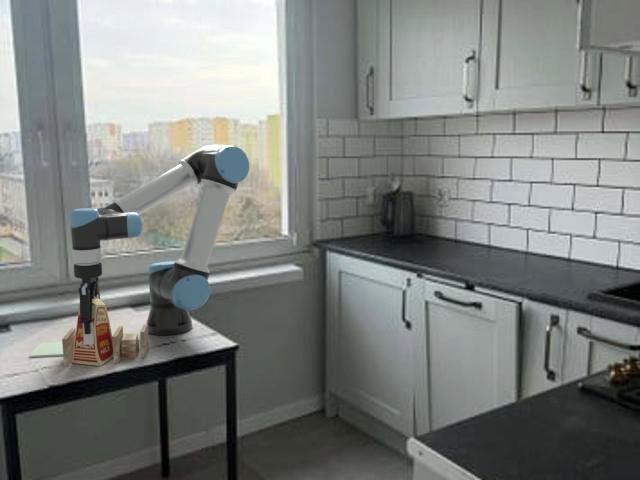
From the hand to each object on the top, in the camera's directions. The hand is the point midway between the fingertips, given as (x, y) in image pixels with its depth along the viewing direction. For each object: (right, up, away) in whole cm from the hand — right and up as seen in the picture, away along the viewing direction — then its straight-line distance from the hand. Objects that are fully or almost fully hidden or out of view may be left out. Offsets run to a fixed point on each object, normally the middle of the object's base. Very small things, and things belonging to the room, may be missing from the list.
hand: (92, 338), depth 174 cm
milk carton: (0, -6, +1) cm, 7 cm away
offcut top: (+9, -2, +5) cm, 11 cm away
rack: (+4, -6, +3) cm, 7 cm away
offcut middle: (+9, -4, +5) cm, 11 cm away
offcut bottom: (+9, -6, +5) cm, 12 cm away
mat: (-15, -5, +9) cm, 18 cm away
